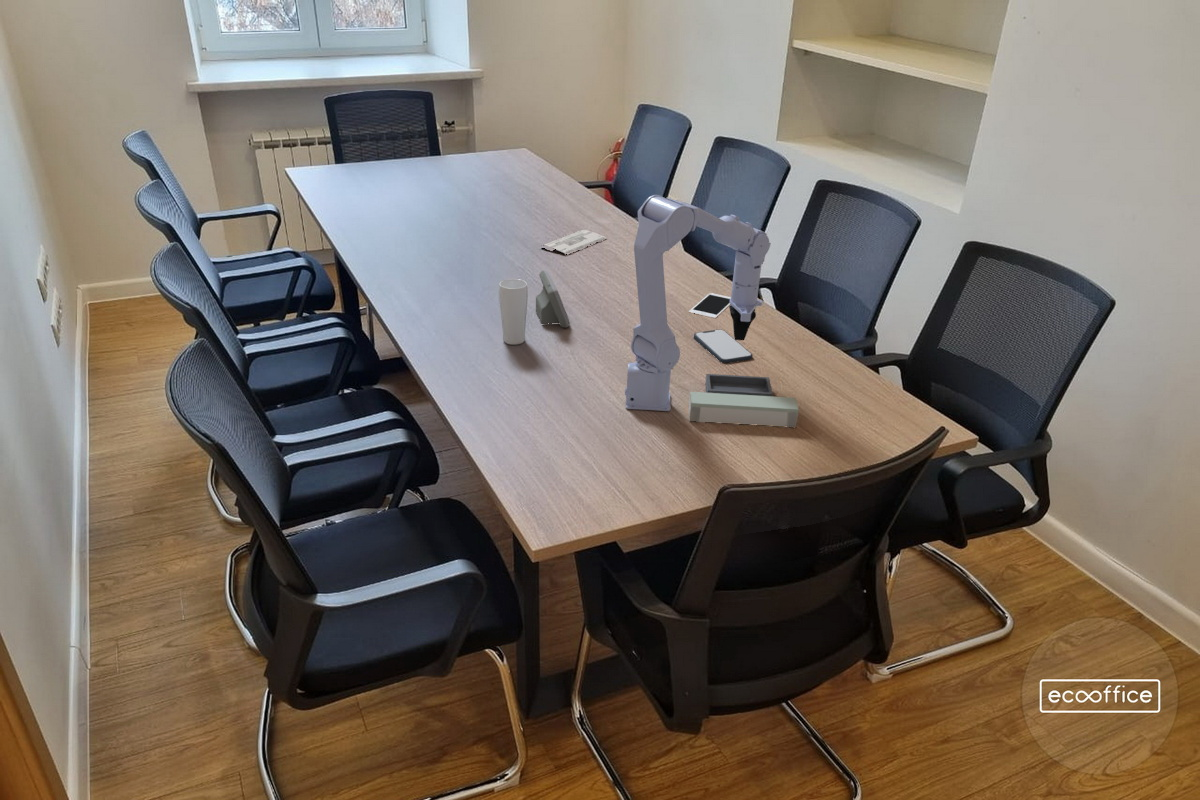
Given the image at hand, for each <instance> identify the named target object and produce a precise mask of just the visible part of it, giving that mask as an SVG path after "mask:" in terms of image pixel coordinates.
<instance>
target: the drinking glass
mask: <svg viewBox="0 0 1200 800" xmlns="http://www.w3.org/2000/svg"><path fill="white" fill-rule="evenodd" d="M528 293H529V291H528V282H526V280H523V279H519V278H508V279H503V280H501V281H500V282H499V285H498V296H499V297H498V301H499V309H500V319H501V325H502V339H503V342H504V343H505V344H507V345H512V346H517V345H521V344H523V343H524V342H525V340H526V326H527V325H526V323H527V314H528V313H527V311H528V302H529V301H528V297H529V294H528Z"/></svg>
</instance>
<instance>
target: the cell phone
mask: <svg viewBox="0 0 1200 800" xmlns="http://www.w3.org/2000/svg"><path fill="white" fill-rule="evenodd" d="M730 298H731V296H726V295H723V294H717V293H712V292H709V293H708V294H707V295H706V296H704V297H703V298H702V299H701V300H700V301H698V303H696V304H695V305H694V306H693V307H692V308H691V309H689V310H688V313H689V312H691V313H690V314H693V313H695V314H694V315H697V314H699V316H702V315H703V316H702V317H706V316H707V318H710V317H711V319H716V318H718V317H719V316H720V315H721V314H722V313H723V312H724V311H725V310H726V309H728V307H729V306H730V305H731V304H730ZM717 316H718V317H717Z"/></svg>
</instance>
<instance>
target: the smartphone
mask: <svg viewBox="0 0 1200 800" xmlns="http://www.w3.org/2000/svg"><path fill="white" fill-rule="evenodd" d="M693 339H694V340H695V341H696V343H698V344H699V343H700V344H701V345H702V346H701V345H700V346H701V347H702V348H704V350H706V349H707V350H706V351H707V352H708V351H709V352H710V353H711V354H710V353H709V352H708V353H709V354H710V355H711V356H713V355H714V356H715V357H714V356H713V357H714V358H715V359H716V358H717V359H718V360H719V361H718V360H717V359H716V360H717V361H718V362H720V363H721V362H722V363H721V364H731V363H730V362H733V363H738V362H737V361H739V362H745V360H746V361H751V360H752V359H753V354H752V352H750V351H749V350H748V349H746V348H745V347H744V346H743V345H742V344H741V343H740V342H739V341H738V340H735V337H732V336H731V335H730V334H729V333H728V332H726V331H725V330H724V329H712V330H706V331H698V332H694V334H693ZM743 360H744V361H743Z"/></svg>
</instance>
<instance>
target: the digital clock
mask: <svg viewBox="0 0 1200 800" xmlns="http://www.w3.org/2000/svg"><path fill="white" fill-rule="evenodd" d="M539 278H540V281H541V283H542V290H541V291H540V293H539V294H538V295H536V297H535V312H537V313H536V315H537V314H538V315H537V318H538V317H539V318H538V320H539V319H540V320H539V322H540V324H548V323H549V324H552V323H560V324H559V325H560V327H561V328H565V329H566V328H569V325H570V323H571V322H570V319H569V317H568V314H567V311H566V309H565V306H564V304H563V303H564V302H563V301H562V298H561V296H560V294H559V291H558V289H557V287H556V285H555V283H554V281H553V278H552V276H551V275H550V273H549V271H548V270H542V271H540V272H539ZM552 325H553V324H552Z"/></svg>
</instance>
